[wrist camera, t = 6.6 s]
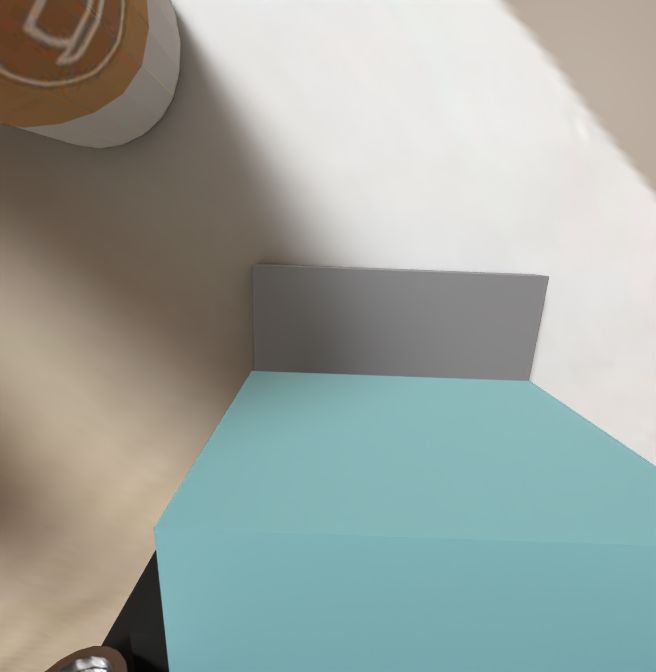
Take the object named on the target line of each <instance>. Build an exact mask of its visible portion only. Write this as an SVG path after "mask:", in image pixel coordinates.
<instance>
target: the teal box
mask: <svg viewBox="0 0 656 672" xmlns="http://www.w3.org/2000/svg"><path fill="white" fill-rule="evenodd" d="M154 535H155V544H156V553H157V562H158V572H159V581H160V590H161V599H162V609H163V618H164V627H165V636H166V646H167V655H168V664H169V672H656V466H654V465H653V464H651V463H650V462H649V461H647V460H646V459H644V458H643V457H641V456H640V455H638V454H637V453H635V452H634V451H632V450H631V449H629V448H628V447H626V446H625V445H623V444H622V443H621V442H619V441H618V440H616V439H615V438H613V437H612V436H610V435H609V434H607V433H606V432H604V431H603V430H601V429H600V428H598V427H597V426H595V425H594V424H593V423H591V422H590V421H588V420H587V419H585V418H584V417H582V416H581V415H579V414H578V413H576V412H575V411H573V410H572V409H570V408H569V407H568V406H566V405H565V404H563V403H562V402H560V401H559V400H557V399H556V398H554V397H553V396H551V395H550V394H548V393H547V392H545V391H544V390H542V389H541V388H540V387H538V386H537V385H535V384H534V383H532V382H531V381H513V380H485V379H458V378H431V377H403V376H376V375H349V374H321V373H294V372H267V371H251V372H250V374H249V376H248V377H247V379H246V381H245V382H244V384H243V385H242V387H241V389H240V390H239V392H238V393H237V395H236V397H235V398H234V400H233V402H232V403H231V405H230V406H229V408H228V410H227V411H226V413H225V414H224V416H223V418H222V419H221V421H220V422H219V424H218V426H217V427H216V429H215V431H214V432H213V434H212V435H211V437H210V439H209V440H208V442H207V443H206V445H205V447H204V448H203V450H202V451H201V453H200V455H199V456H198V458H197V460H196V461H195V463H194V464H193V466H192V468H191V469H190V471H189V472H188V474H187V476H186V477H185V479H184V481H183V482H182V484H181V485H180V487H179V489H178V490H177V492H176V493H175V495H174V497H173V498H172V500H171V501H170V503H169V505H168V506H167V508H166V510H165V511H164V513H163V514H162V516H161V518H160V519H159V521H158V522H157V524H156V526H155V527H154Z"/></svg>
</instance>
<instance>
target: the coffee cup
mask: <svg viewBox="0 0 656 672" xmlns="http://www.w3.org/2000/svg"><path fill="white" fill-rule="evenodd" d="M180 44H181V41H180V36H179V31H178V26H177V21H176V15H175V11H174V8H173V6H172V4H171V1H170V0H0V124H4V125H10V126H13V127H17V128H20V129H23V130H27V131H30V132H34V133H37V134H40V135H44V136H47V137H50V138H54V139H57V140H60V141H64V142H67V143H70V144H74V145H80V146H86V147H93V148H104V147H112V146H119V145H123V144H125V143H127V142H129V141H131V140H133V139H135V138H137V137H140V136H142V135H143V134H145V133H147V132H148V131H149V130H150V129H151V128H152V127H153V126H154V125H155V124H156V123H157V122H158V121H159V120H160V119H162V117H163V115H164V113H165V112H166V110H167V108H168V107H169V105H170V103H171V102H172V100H173V96H174V93H175V89H176V86H177V82H178V78H179V71H180Z"/></svg>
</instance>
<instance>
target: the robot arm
mask: <svg viewBox="0 0 656 672" xmlns="http://www.w3.org/2000/svg"><path fill="white" fill-rule="evenodd" d="M45 672H169V664H168V655H167V646H166V636H165V627H164V618H163V609H162V599H161V590H160V581H159V572H158V562H157V553H156V551H155V552H154V554H153V556H152V558H151V559H150V561H149V563H148V565H147V566H146V568H145V570H144V572H143V573H142V575H141V577H140V579H139V580H138V582H137V584H136V586H135V587H134V589H133V591H132V593H131V594H130V596H129V598H128V600H127V602H126V603H125V605H124V607H123V609H122V610H121V612H120V614H119V616H118V617H117V619H116V621H115V623H114V624H113V626H112V628H111V630H110V631H109V633H108V635H107V637H106V638H105V640H104V642H103V644H102V646H92V647H89V648H85V649H82V650H78V651H76V652H74V653H72V654H70V655H69V656H67V657H65V658H63V659H61V660H59V661H58V662H57V663H56V664H54V665H53V666H52V667H50V668H49V669H48V670H47V671H45Z"/></svg>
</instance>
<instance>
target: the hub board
mask: <svg viewBox="0 0 656 672" xmlns="http://www.w3.org/2000/svg"><path fill="white" fill-rule="evenodd" d="M548 280H549V276H542V275H535V274H511V273H485V272H459V271H433V270H407V269H381V268H355V267H329V266H303V265H277V264H254V265H252V294H253V353H254V371H267V372H294V373H321V374H349V375H376V376H403V377H431V378H458V379H485V380H513V381H529V378H530V372H531V367H532V362H533V357H534V352H535V347H536V342H537V336H538V331H539V326H540V321H541V316H542V311H543V306H544V300H545V295H546V290H547V285H548Z"/></svg>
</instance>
